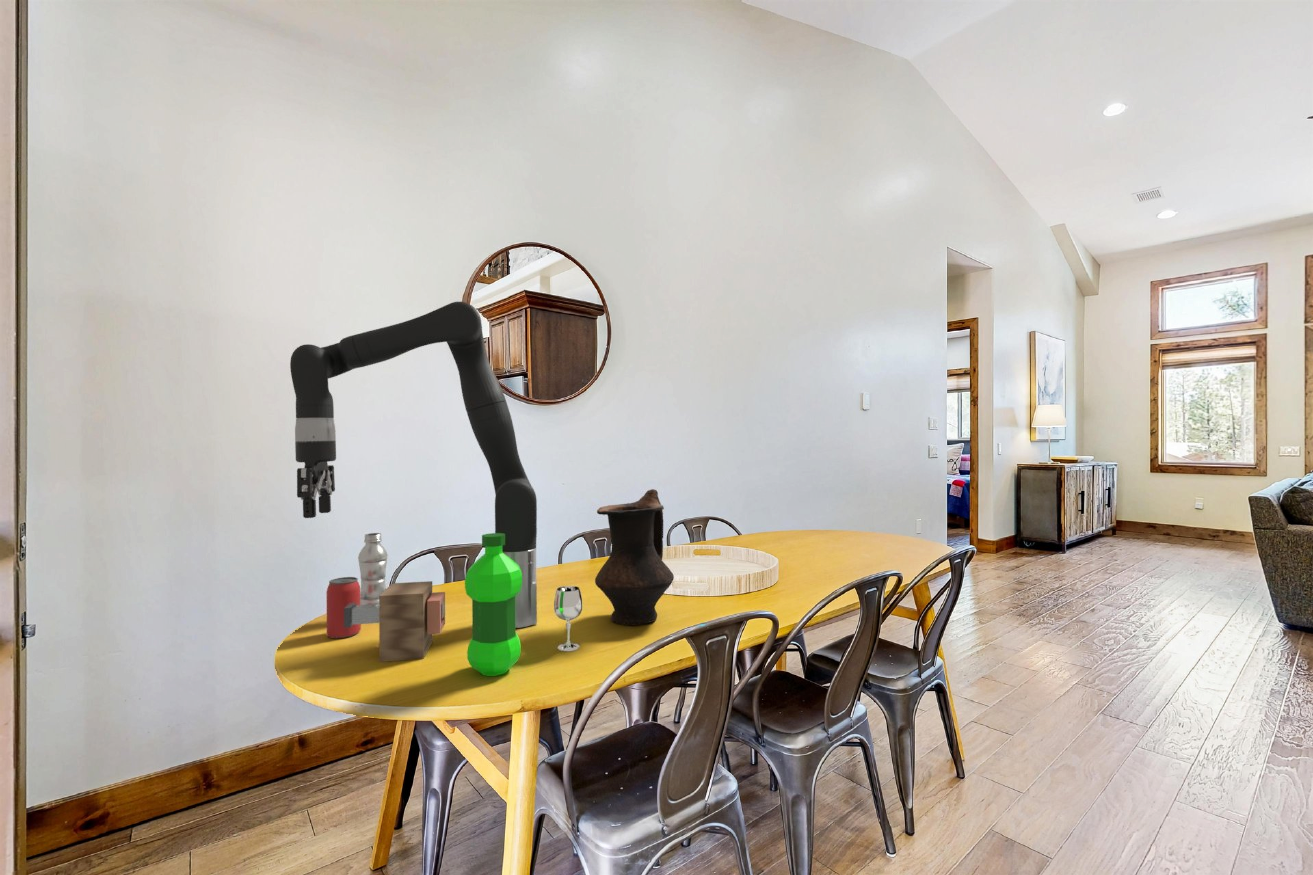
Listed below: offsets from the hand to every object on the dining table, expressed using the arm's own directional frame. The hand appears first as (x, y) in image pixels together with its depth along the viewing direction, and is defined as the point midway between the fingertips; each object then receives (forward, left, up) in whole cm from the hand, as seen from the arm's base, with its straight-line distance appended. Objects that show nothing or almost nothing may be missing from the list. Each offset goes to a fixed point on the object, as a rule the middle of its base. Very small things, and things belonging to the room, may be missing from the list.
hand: (317, 515), depth 125 cm
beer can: (-4, -3, -27) cm, 27 cm away
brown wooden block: (-20, +11, -27) cm, 35 cm away
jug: (-69, 0, -27) cm, 74 cm away
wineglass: (-52, +16, -27) cm, 61 cm away
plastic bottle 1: (-7, -15, -27) cm, 31 cm away
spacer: (-26, +11, -23) cm, 36 cm away
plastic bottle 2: (-38, +25, -27) cm, 53 cm away
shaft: (-18, +11, -21) cm, 30 cm away
